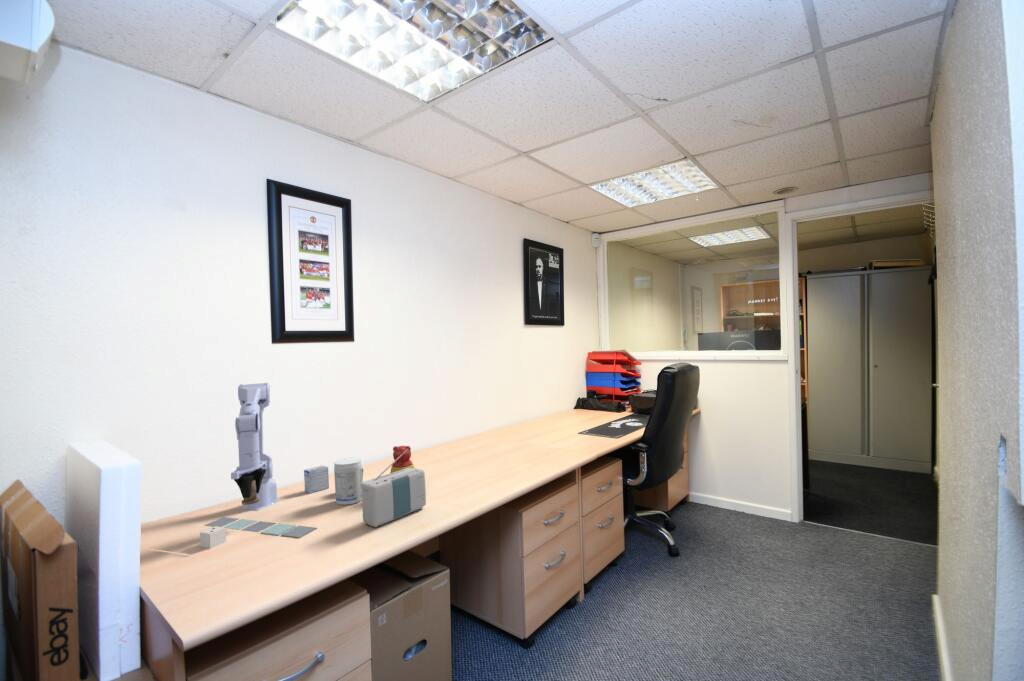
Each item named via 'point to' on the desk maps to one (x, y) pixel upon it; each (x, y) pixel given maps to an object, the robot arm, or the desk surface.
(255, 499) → the pawn
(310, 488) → the medicine box
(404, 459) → the stacking bear
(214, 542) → the die
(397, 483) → the stereo radio cassette player
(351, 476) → the supplement tub
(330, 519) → the desk surface
